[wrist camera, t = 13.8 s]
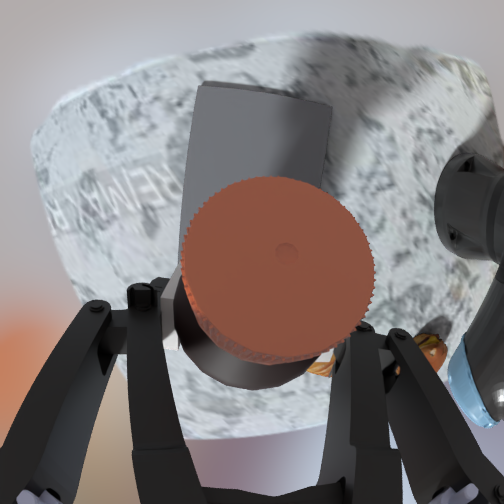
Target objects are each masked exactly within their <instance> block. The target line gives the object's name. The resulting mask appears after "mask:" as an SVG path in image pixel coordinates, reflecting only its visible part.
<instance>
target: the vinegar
mask: <svg viewBox="0 0 504 504" xmlns="http://www.w3.org/2000/svg"><path fill="white" fill-rule="evenodd" d="M186 229H187V235H186V234H185V235H184V240H185V242H182V247H183V250H182V251H180V252H181V256H182V259H180V262H181V266H182V268H181V272H182V275H181V276H180V278H179V282H178V285H177V288H176V292H175V295H174V300H173V314H174V328H175V330H176V333H177V335H178V338H179V340H180V343H181V345H182V348H183V350H184V352H185V353H186V354H187V355H188V357H189V358H190V359H191V360H192V361H193V362H194V363H195V365H196V366H197V367H198V368H199V369H200V370H201V371H202V372H203V373H205V374H207V375H208V376H210V377H212V378H213V379H215V380H217V381H219V382H221V383H222V384H224V385H226V386H231V387H237V388H242V389H247V390H259V389H266V388H273V387H279V386H281V385H283V384H285V383H287V382H289V381H291V380H293V379H295V378H297V377H299V376H300V375H302V374H304V373H305V372H306V371H307V369H308V368H309V367H310V366H311V365H312V364H313V363H314V362H315V361H316V360H317V359H318V358H319V357H320V355H321V354H322V353H326V352H329V351H330V349H333V348H336V347H337V344H340V343H343V342H344V339H345V338H348V337H351V335H350V333H352V332H354V331H356V328H355V327H356V326H358V325H361V322H360V320H361V319H363V318H365V312H367V311H369V309H368V308H367V306H368V305H369V304H371V303H372V302H371V301H370V298H371V297H372V296H374V294H372V291H373V289H375V287H374V282H375V281H376V279H374V274H375V273H376V272H375V271H374V266H375V264H374V261H373V259H374V257H372V254H371V252H372V250H370V248H369V244H370V243H368V241H367V238H366V237H367V236H365V234H364V232H363V229H361V228H360V226H359V223H357V222H356V220H355V217H353V216H352V214H351V213H350V211H348V210H347V209H346V208H345V206H342V205H341V204H340V201H337V200H336V199H335V198H334V197H332V196H331V195H329V194H328V193H327V192H326V193H325V192H324V191H322V190H321V189H318V188H316V187H315V186H314V185H311V184H309V183H305V182H301V180H299V181H297V180H294V178H292V179H290V178H287V177H279V176H278V177H272V176H270V177H265V176H263V177H257V176H256V177H255V178H251V179H250V178H248V180H243V179H241V181H240V182H237V183H236V182H234V183H233V184H231V185H227V187H226V188H225V189H223V188H221V191H220V192H219V193H217V192H215V195H214V196H212V197H209V200H208V201H207V202H203V207H202V208H201V207H198V214H196V213H194V219H193V220H190V227H186Z"/></svg>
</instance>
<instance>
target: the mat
mask: <svg viewBox="0 0 504 504" xmlns="http://www.w3.org/2000/svg"><path fill="white" fill-rule="evenodd" d="M331 113H332V107H331V106H327V105H323V104H319V103H315V102H311V101H307V100H302V99H297V98H292V97H287V96H282V95H276V94H271V93H264V92H258V91H251V90H243V89H234V88H225V87H213V86H198V90H197V95H196V101H195V106H194V112H193V119H192V125H191V132H190V139H189V146H188V153H187V161H186V170H185V178H184V188H183V198H182V209H181V221H180V235H179V251H178V264H179V262H180V259H181V258H182V256H181V252H180V251H182V250H183V247H182V242H185V240H184V235H185V234H186V235H187V229H186V227H190V220H193V219H194V213H196V214H198V207H201V208H202V207H203V202H207V201H208V200H209V197H212V196H214V195H215V192H217V193H219V192H220V191H221V188H223V189H225V188H226V187H227V185H231V184H233V183H234V182H236V183H237V182H240V181H241V179H243V180H248V178H250V179H251V178H255V177H256V176H257V177H263V176H265V177H270V176H272V177H278V176H279V177H287V178H290V179H292V178H294V180H297V181H299V180H301V182H305V183H309V184H311V185H314V186H315V187H316V188H318V189H320V184H321V178H322V172H323V166H324V160H325V154H326V148H327V141H328V134H329V128H330V120H331Z"/></svg>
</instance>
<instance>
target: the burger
mask: <svg viewBox="0 0 504 504" xmlns="http://www.w3.org/2000/svg"><path fill="white" fill-rule="evenodd" d="M413 339H414V340H415V342H416V343H417V345H418V346H419V348H420V349H421V351H422V352H423V353H424V355H425V356H426V358H427V359H428V361H429V362H430V364H431V365H432V367H433V368H434V370H435V371H436V373H437V372H438V370H439V369H440V368H441V366H442V365H443V363H444V361H445V359H446V356H447V352H448V350H447V346H446V344H444V343H443V341H442V339H439V335H438V334H431V335H427V334H424V333H423V334H420V335H418V336H416V337H414V338H413ZM396 372H397V374H399V373H400V367H398V369H397V370H396Z"/></svg>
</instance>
